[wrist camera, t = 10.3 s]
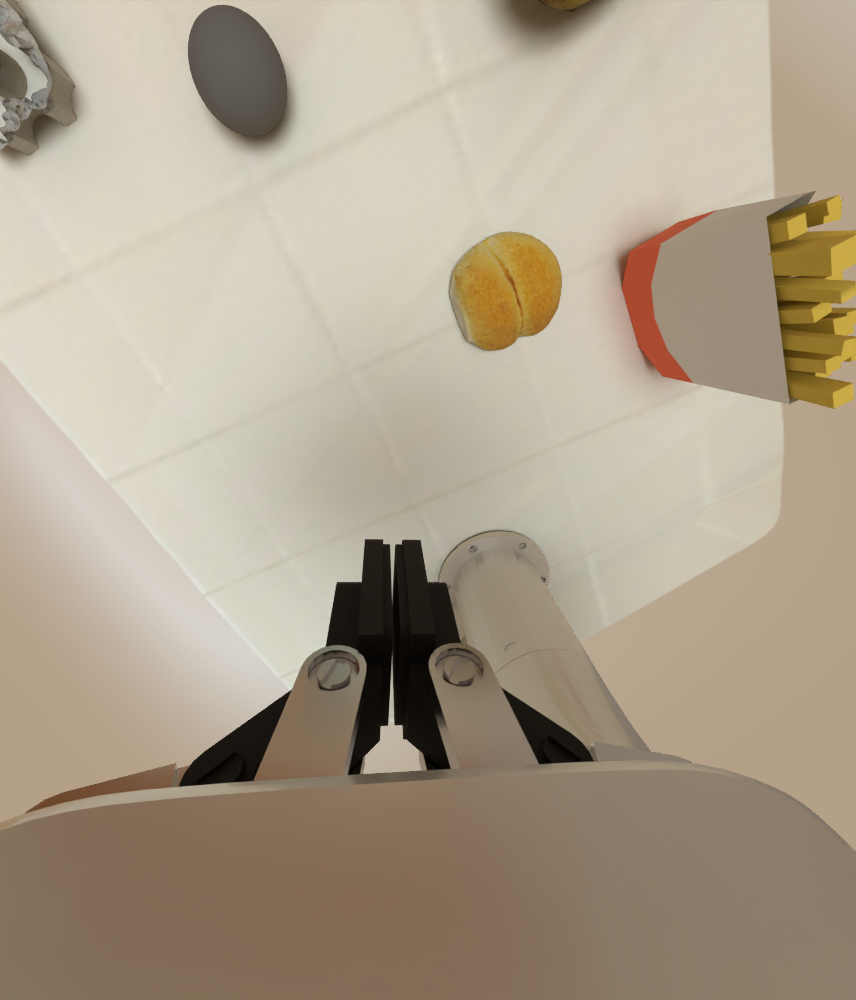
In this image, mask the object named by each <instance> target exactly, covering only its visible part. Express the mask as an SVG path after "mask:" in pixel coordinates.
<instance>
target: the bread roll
mask: <svg viewBox="0 0 856 1000" xmlns="http://www.w3.org/2000/svg"><path fill="white" fill-rule="evenodd" d="M561 287H562V277H561V270H560V266H559V263H558V260H557V258H556V256H555V255H554V254H553V252H552V251H551V250H550V249H549V248H548V247H547V246H546V245H545V244H544V243H543V242H541V241H540V240H538V239H537V238H535V237H533V236H531V235H528V234H524V233H518V232H502V233H498V234H495V235H493V236H490V237H489V238H487V239H486V240H484V241H483V242H481V243H479V244H477V245H476V246H475V247H473V248H472V249H470V250H469V251H468V252H467V253H466V254H465V255H464V256H463V257H462V259H461V260H460V261H459V263H458V264H457V266H456V267H455V269H454V271H453V273H452V279H451V288H450V297H451V301H452V305H453V309H454V313H455V315H456V318H457V320H458V323H459V325H460V327H461V329H462V332H463V335H464V337H465V338H466V339H467V341H468V342H471V343H473V344H475V345H477V346H478V347H480V348H482V349H484V350H488V351H489V350H501V349H504V348H507V347H508V346H510V345H512V344H513V343H514V342H515V341H516V340H517V338H518V337H521V336H531V335H535V334H537V333H539V332H540V331H542V330H543V329H544V328H545V327H546V326H547V325H548V324H549V323H550V321H551V319H552V318H553V316H554V314H555V312H556V310H557V308H558V305H559V301H560V296H561Z"/></svg>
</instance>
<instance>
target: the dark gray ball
mask: <svg viewBox="0 0 856 1000" xmlns="http://www.w3.org/2000/svg"><path fill="white" fill-rule="evenodd" d="M188 59H189V65H190V70H191V74H192V78H193V81H194V83H195V86H196V88H197V90H198V93H199V95H200V96H201V98H202V100H203V102H204V103H205V105H206V106H207V108H208V109H209V110H210V111H211V113H212V114H213V115H214V116H215V117H216V118H217V119H218V120H219V121H220V122H221V123H222V124H224V125H225V126H226V127H228V128H229V129H231V130H233V131H235V132H237V133H240V134H242V135H246V136H259V135H263V134H265V133H267V132H269V131H271V130H272V129H273V128H274V127H275V126H276V125H277V124H278V123H279V121H280V119H281V117H282V115H283V113H284V110H285V106H286V100H287V82H286V75H285V71H284V66H283V63H282V60H281V58H280V55H279V52H278V50H277V48H276V47H275V45H274V43H273V41H272V39H271V38H270V36H269V35H268V34H267V32H266V31H265V30H264V28H263V27H262V26H261V25H260V24H259V23H258V22H257V21H256V20H255V19H254V18H253V17H251V16H250V15H249V14H247V13H246V12H244V11H242V10H240V9H238V8H235V7H233V6H228V5H217V6H212V7H210V8H208V9H206V10H205V11H203V12H202V13H201V14H200V15H199V16H198V17H197V18H196V20H195V22H194V24H193V26H192V29H191V32H190V35H189V42H188Z"/></svg>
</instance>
